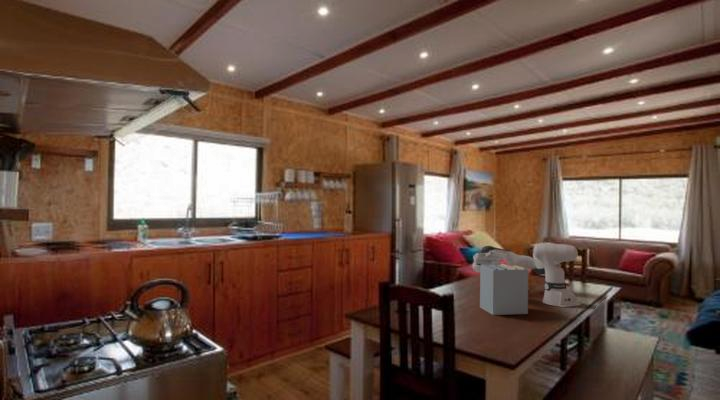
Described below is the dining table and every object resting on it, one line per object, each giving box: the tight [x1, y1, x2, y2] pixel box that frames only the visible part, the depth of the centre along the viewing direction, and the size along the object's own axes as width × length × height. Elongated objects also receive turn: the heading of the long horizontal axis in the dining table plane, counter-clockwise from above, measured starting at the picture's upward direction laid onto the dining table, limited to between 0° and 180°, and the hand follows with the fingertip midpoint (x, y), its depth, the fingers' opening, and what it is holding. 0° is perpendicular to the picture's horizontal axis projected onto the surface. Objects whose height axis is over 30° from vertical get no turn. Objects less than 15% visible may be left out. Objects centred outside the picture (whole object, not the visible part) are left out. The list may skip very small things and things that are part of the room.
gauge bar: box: [490, 250, 510, 260], centre depth 243 cm, size 3×20×3 cm, turn 9°
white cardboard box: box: [479, 263, 529, 316], centre depth 227 cm, size 22×16×27 cm
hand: (494, 252), depth 250 cm, fingers closed on gauge bar, 3 cm apart
